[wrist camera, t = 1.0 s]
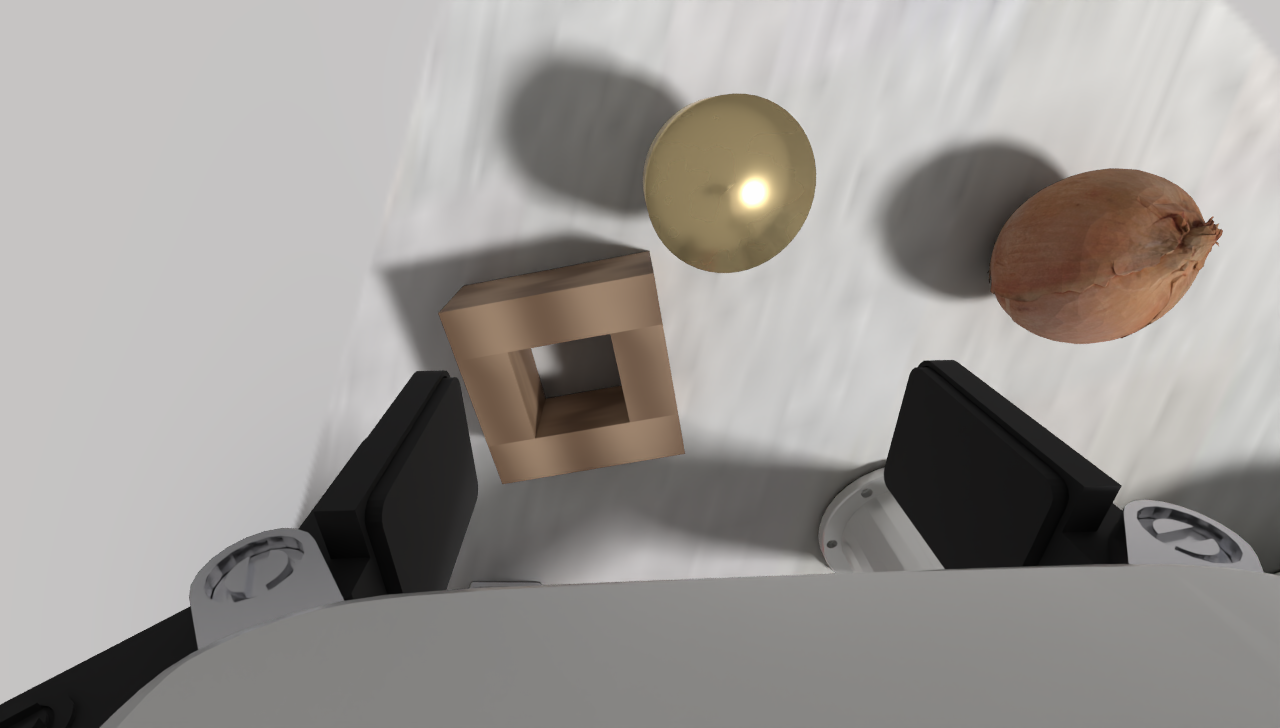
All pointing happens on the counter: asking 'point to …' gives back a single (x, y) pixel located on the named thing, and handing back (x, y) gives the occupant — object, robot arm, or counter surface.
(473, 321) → the block
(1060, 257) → the onion
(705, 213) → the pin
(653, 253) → the counter surface
